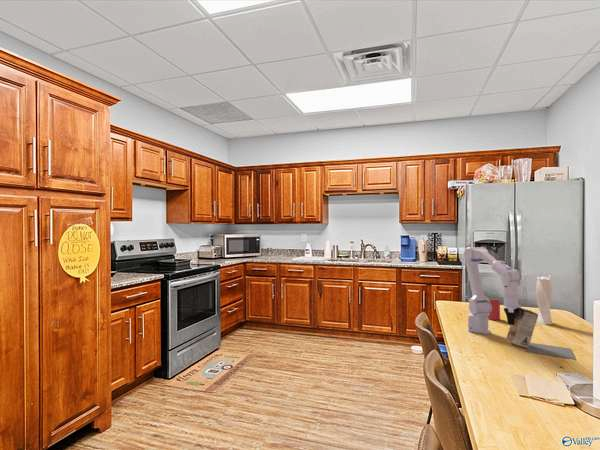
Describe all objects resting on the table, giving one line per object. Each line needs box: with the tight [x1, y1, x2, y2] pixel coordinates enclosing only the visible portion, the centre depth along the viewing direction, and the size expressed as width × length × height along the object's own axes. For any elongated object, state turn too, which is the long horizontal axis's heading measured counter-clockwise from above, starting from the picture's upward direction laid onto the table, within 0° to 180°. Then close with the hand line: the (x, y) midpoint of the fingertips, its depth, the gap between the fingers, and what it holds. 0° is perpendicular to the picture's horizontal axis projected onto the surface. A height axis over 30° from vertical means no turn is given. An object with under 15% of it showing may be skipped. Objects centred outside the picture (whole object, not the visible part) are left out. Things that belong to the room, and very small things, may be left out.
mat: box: [525, 342, 577, 361], centre depth 152 cm, size 17×14×1 cm
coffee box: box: [506, 307, 538, 348], centre depth 159 cm, size 9×6×16 cm
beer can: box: [487, 297, 501, 321], centre depth 203 cm, size 7×7×12 cm
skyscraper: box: [535, 274, 555, 326], centre depth 194 cm, size 8×8×28 cm
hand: (511, 324), depth 160 cm, fingers closed
